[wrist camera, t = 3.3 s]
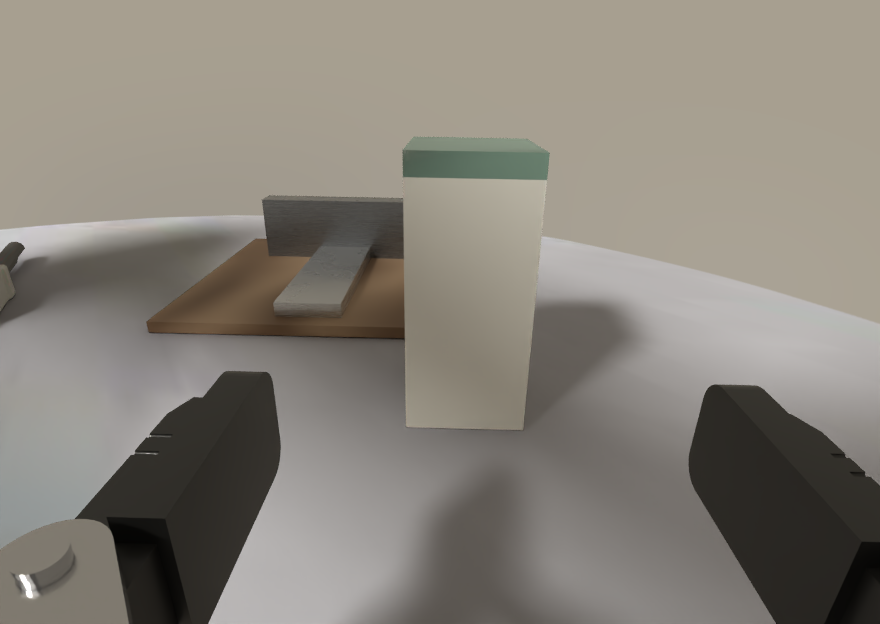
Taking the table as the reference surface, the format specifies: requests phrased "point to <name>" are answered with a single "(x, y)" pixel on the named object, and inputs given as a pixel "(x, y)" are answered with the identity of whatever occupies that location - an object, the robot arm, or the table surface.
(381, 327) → the mounting board
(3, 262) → the walkie-talkie
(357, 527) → the table surface
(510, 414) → the block
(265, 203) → the block
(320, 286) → the rail
